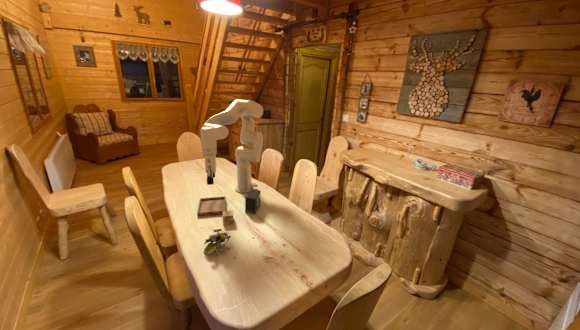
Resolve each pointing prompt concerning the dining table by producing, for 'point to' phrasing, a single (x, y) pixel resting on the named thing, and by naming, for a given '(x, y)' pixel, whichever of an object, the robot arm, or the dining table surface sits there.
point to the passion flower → (216, 242)
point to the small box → (252, 201)
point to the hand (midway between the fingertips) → (211, 180)
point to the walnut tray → (211, 206)
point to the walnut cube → (228, 217)
